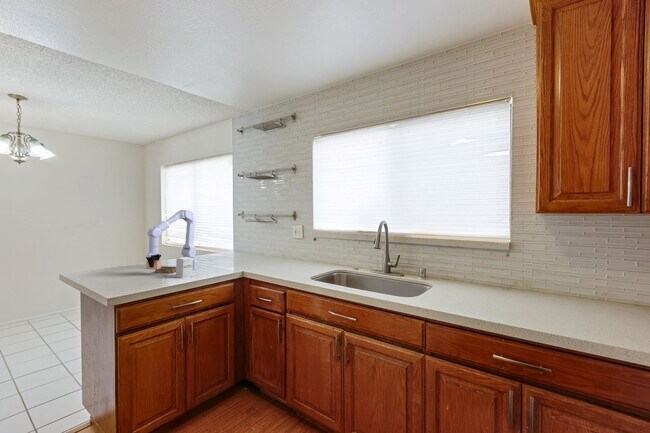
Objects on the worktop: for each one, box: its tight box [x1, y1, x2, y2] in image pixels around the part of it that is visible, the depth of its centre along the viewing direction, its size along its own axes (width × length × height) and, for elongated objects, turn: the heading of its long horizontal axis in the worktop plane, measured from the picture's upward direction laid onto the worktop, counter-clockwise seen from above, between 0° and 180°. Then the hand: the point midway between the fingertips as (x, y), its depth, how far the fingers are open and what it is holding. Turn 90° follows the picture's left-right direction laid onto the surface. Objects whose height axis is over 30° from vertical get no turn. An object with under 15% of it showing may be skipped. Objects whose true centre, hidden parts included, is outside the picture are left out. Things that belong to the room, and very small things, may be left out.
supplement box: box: [175, 256, 194, 279], centre depth 199 cm, size 7×7×13 cm
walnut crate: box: [154, 265, 176, 275], centre depth 211 cm, size 11×9×3 cm
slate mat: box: [143, 270, 169, 277], centre depth 207 cm, size 13×17×1 cm
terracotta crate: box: [145, 259, 162, 270], centre depth 202 cm, size 7×5×5 cm
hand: (153, 266), depth 202 cm, fingers closed on terracotta crate, 5 cm apart
